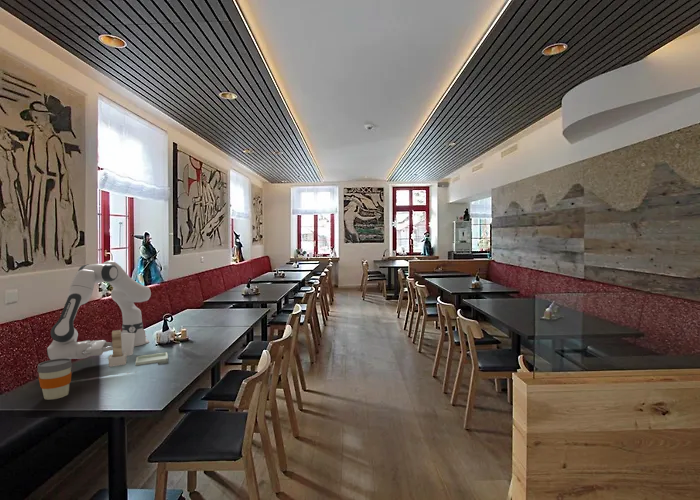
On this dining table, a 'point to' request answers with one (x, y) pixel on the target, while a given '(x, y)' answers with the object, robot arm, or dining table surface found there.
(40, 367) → the reusable coffee cup
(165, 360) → the tray
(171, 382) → the dining table surface
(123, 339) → the foam cup
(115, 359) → the white square container
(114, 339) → the tan wooden block
